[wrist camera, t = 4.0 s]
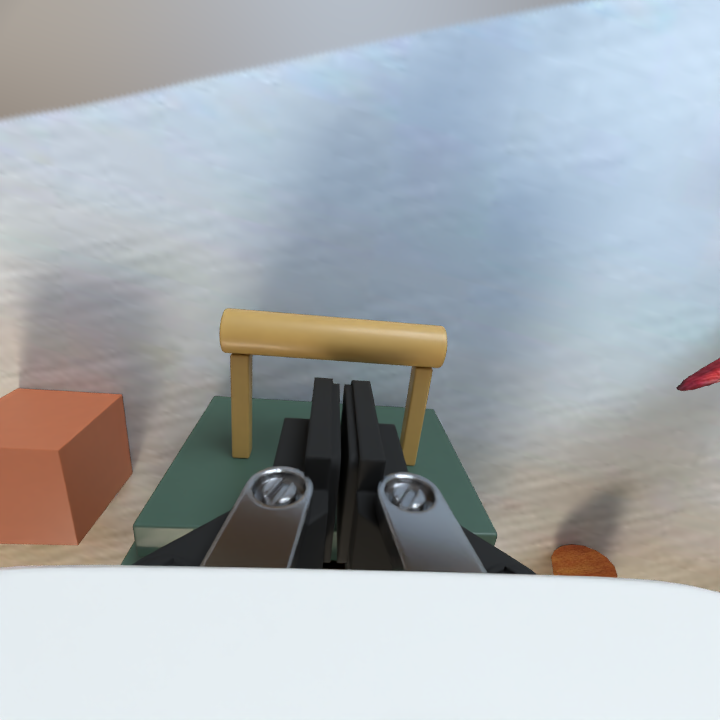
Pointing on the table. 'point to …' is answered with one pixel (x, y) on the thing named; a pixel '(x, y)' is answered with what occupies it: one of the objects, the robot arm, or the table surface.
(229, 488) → the drawer
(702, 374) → the decorative bird figurine
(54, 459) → the block
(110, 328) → the table surface
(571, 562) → the kendama
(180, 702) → the robot arm
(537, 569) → the table surface
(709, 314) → the table surface
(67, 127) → the table surface
